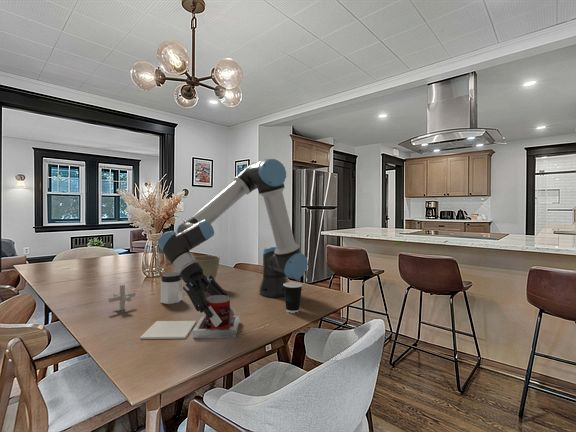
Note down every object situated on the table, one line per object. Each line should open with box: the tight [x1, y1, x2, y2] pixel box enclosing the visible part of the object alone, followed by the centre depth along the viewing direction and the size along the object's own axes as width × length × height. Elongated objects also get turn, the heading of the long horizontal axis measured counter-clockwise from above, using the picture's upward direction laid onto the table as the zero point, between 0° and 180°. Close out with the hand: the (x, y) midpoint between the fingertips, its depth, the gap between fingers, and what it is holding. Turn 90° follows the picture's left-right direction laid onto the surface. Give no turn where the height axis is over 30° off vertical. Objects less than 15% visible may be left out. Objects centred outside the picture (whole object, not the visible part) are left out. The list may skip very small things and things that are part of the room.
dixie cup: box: [283, 281, 304, 314], centre depth 125 cm, size 8×8×11 cm
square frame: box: [192, 315, 241, 339], centre depth 104 cm, size 13×13×2 cm
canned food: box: [205, 295, 231, 329], centre depth 104 cm, size 8×8×11 cm
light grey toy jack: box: [108, 284, 136, 311], centre depth 124 cm, size 10×10×10 cm
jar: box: [160, 272, 183, 305], centre depth 136 cm, size 9×8×12 cm
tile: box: [139, 320, 197, 340], centre depth 104 cm, size 14×14×1 cm
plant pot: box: [194, 255, 221, 288], centre depth 158 cm, size 15×15×16 cm
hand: (226, 320), depth 103 cm, fingers closed on canned food, 8 cm apart
